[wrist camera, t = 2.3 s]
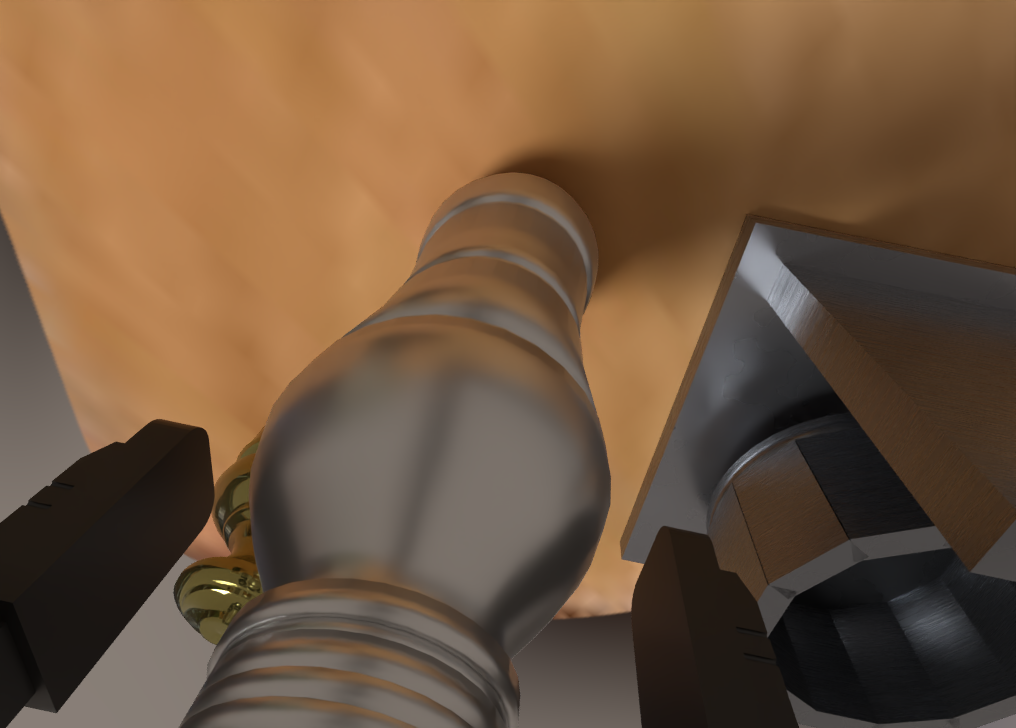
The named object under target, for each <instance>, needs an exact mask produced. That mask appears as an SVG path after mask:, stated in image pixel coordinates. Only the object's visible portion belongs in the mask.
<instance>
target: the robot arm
mask: <svg viewBox="0 0 1016 728" xmlns="http://www.w3.org/2000/svg"><path fill="white" fill-rule="evenodd" d="M214 498H215V491H214V482H213V473H212V464H211V455H210V446H209V438H208V434H207V432H206V430H204V429H203V428H200V427H196V426H191V425H186V424H181V423H176V422H172V421H167V420H162V419H156V420H153V421H151V422H150V423H148V424H147V425H146V426H145V427H143V428H142V429H141V430H140V431H139V432H137V433H136V434H135V435H134V436H133V437H132V438H130V439H129V440H128V441H127V442H126V443H120V442H114V443H112V444H110V445H108V446H106V447H104V448H102V449H99V450H97V451H95V452H93V453H91V454H89V455H87V456H84V457H82V458H80V459H79V460H78V461H76V462H75V463H74V464H73V465H72V466H70V467H69V468H68V469H67V470H65V471H64V472H63V473H62V474H60V475H59V476H58V477H57V478H55V479H54V480H53V481H52V484H51V486H46V487H44V488H43V489H42V490H40V491H39V492H38V493H37V494H36V495H34V496H33V497H32V498H31V499H30V500H29V502H28V504H27V505H26V506H24V505H22V506H21V507H19V508H18V509H17V510H16V511H14V512H13V513H12V514H11V515H10V516H8V517H7V518H6V519H5V520H3V521H2V522H1V523H0V728H6V727H7V726H8V724H9V723H10V722H11V721H12V720H13V719H14V718H15V716H16V715H17V714H18V713H19V712H20V710H21V709H22V708H23V707H24V706H26V707H30V708H35V709H39V710H44V711H49V712H53V713H57V712H58V711H59V710H60V708H61V707H62V706H63V704H64V703H65V702H66V701H67V699H68V698H69V697H70V696H71V694H72V693H73V692H74V691H75V689H76V688H77V687H78V685H79V684H80V683H81V682H82V680H83V679H84V678H85V677H86V675H87V674H88V673H89V672H90V671H91V669H92V668H93V667H94V665H95V664H96V663H97V662H98V660H99V659H100V658H101V657H102V655H103V654H104V653H105V652H106V650H107V649H108V648H109V647H110V645H111V644H112V643H113V642H114V640H115V639H116V638H117V636H118V635H119V634H120V633H121V631H122V630H123V629H124V628H125V626H126V625H127V624H128V622H129V621H130V620H131V619H132V618H133V616H134V615H135V614H136V612H137V611H138V610H139V609H140V608H141V606H142V605H143V604H144V602H145V601H146V600H147V599H148V597H149V596H150V595H151V594H152V592H153V591H154V590H155V589H156V587H157V586H158V585H159V584H160V582H161V581H162V580H163V578H164V577H165V576H166V575H167V573H168V572H169V571H170V570H171V568H172V567H173V566H174V565H175V563H176V562H177V561H178V560H179V558H180V557H181V556H182V555H183V553H184V552H185V551H186V550H187V548H188V547H189V546H190V544H191V543H192V542H193V541H194V539H195V538H196V537H197V536H198V534H199V533H200V532H201V531H202V529H203V528H204V526H205V525H206V523H207V521H208V519H209V517H210V514H211V512H212V509H213V505H214ZM631 620H632V632H633V642H634V652H635V663H636V672H637V681H638V682H637V683H638V693H639V704H640V714H641V724H642V728H799V726H798V723H797V720H796V717H795V714H794V711H793V708H792V705H791V702H790V699H789V696H788V693H787V690H786V687H785V684H784V681H783V678H782V675H781V672H780V669H779V666H776V657H775V654H774V651H773V648H772V645H771V642H770V639H767V630H766V627H765V624H764V621H763V618H762V615H761V612H760V609H759V606H758V603H757V601H756V599H755V598H754V597H753V595H752V594H751V593H750V591H749V590H748V588H747V587H746V586H745V584H744V583H743V582H742V580H741V579H740V577H739V576H738V575H737V573H735V572H730V571H725V570H720V568H719V565H718V561H717V557H716V554H715V550H714V547H713V543H712V541H711V539H710V537H709V536H708V535H706V534H702V533H697V532H693V531H688V530H683V529H678V528H673V527H669V526H662V527H661V528H660V530H659V531H658V533H657V535H656V538H655V540H654V542H653V545H652V547H651V550H650V552H649V554H648V557H647V559H646V561H645V564H644V566H643V568H642V571H641V573H640V575H639V578H638V580H637V583H636V585H635V589H634V593H633V599H632V608H631Z"/></svg>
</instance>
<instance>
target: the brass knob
mask: <svg viewBox="0 0 1016 728" xmlns="http://www.w3.org/2000/svg"><path fill="white" fill-rule="evenodd" d="M264 428H265V426H264V427H263V428H262V429H261V431H260V432H259V433H258V434H257V435H256V437H255V438H254V439H253V440H252V441H251V442H250V443H249V444H248V445H246V446H245V447H244V448H243V450H242V451H241V452H240V454H239V456H238V458H237V461H236V462H235V463H234V464H233V465H231V466H230V467H229V468H228V469H227V470H226V471H225V472H224V473H223V474H222V475H221V476H220V477H219V479H218V480H217V482H216V484H215V486H214V491H215V498H214V505H213V509H212V512H211V514H212V518H213V521H214V524H215V526H216V528H217V531H218V532H219V534H220V536H221V537H222V538H223V540H224V541H225V543H226V545H227V547H228V549H229V551H230V552H231V555H230V556H228V557H212V558H206V559H202V560H199V561H197V562H194V563H193V564H191V565H189V566H188V567H187V568H186V569H184V570H183V572H182V573H181V574H180V576H179V577H178V579H177V581H176V583H175V585H174V591H173V594H174V600H175V602H176V605H177V607H178V609H179V611H180V613H181V614H182V616H183V617H184V618H185V620H186V621H187V622H188V623H189V624H190V625H191V626H192V627H193V628H194V629H195V630H196V631H197V632H198V633H200V634H201V635H202V637H203V638H205V639H206V640H208V641H209V642H211V643H213V644H215V645H217V644H218V642H219V641H220V639H221V637H222V636H223V634H224V632H225V631H226V629H227V627H228V626H229V624H230V622H231V621H232V619H233V617H234V616H235V615H236V614H237V613H238V612H239V611H240V610H241V609H242V608H243V607H244V605H245V604H246V603H247V602H249V601H251V600H252V599H254V598H256V597H257V596H259V595H260V594H262V593H263V590H262V586H261V582H260V578H259V573H258V569H257V565H256V560H255V554H254V548H253V542H252V530H251V518H250V506H249V494H248V493H249V484H250V474H251V467H252V464H253V461H254V458H255V455H256V452H257V449H258V446H259V442H260V439H261V436H262V433H263V430H264Z"/></svg>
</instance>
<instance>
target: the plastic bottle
mask: <svg viewBox="0 0 1016 728" xmlns="http://www.w3.org/2000/svg"><path fill="white" fill-rule="evenodd" d="M597 272H598V246H597V241H596V237H595V233H594V230H593V228H592V226H591V224H590V222H589V219H588V217H587V216H586V214H585V213H584V212H583V210H582V209H581V208H580V206H579V205H578V204H577V202H576V201H575V200H574V199H573V198H572V197H571V196H570V195H569V194H568V193H567V192H566V191H564V190H563V189H562V188H561V187H560V186H558V185H556V184H554V183H553V182H551V181H549V180H547V179H545V178H542V177H539V176H535V175H532V174H527V173H516V172H511V173H502V174H495V175H491V176H487V177H484V178H481V179H478V180H475V181H472V182H471V183H469V184H467V185H465V186H464V187H462V188H460V189H458V190H457V191H456V192H454V193H453V194H452V195H451V196H450V197H449V198H448V199H446V200H445V201H444V202H443V203H442V205H441V206H440V207H439V209H438V210H437V211H436V213H435V214H434V215H433V217H432V219H431V221H430V223H429V225H428V227H427V229H426V231H425V234H424V237H423V239H422V242H421V245H420V249H419V253H418V257H417V261H416V265H415V267H414V269H413V271H412V273H411V275H410V277H409V279H408V280H407V281H406V282H405V284H404V285H403V286H402V287H400V288H399V290H398V291H397V292H396V293H395V294H394V295H393V296H392V297H391V298H390V299H389V300H388V301H387V303H386V304H385V305H384V306H383V307H381V308H380V309H379V310H377V311H376V312H375V313H373V314H372V315H371V316H369V317H368V318H367V319H365V320H364V321H363V322H361V323H360V324H359V325H357V326H356V327H355V328H354V329H352V330H351V331H350V332H348V333H347V334H346V335H344V336H343V337H342V338H341V339H339V340H337V341H336V342H335V343H333V344H332V345H331V346H330V347H328V348H327V349H326V350H325V351H324V352H322V353H321V354H320V355H319V356H318V357H316V358H315V359H314V360H313V361H312V362H311V363H310V364H309V365H308V366H307V367H306V368H305V369H304V370H303V371H302V372H301V373H300V374H299V375H298V376H297V377H295V378H294V379H293V380H292V381H291V382H290V383H289V385H288V386H287V387H286V389H285V390H284V392H283V393H282V394H281V396H280V397H279V398H278V400H277V401H276V402H275V404H274V405H273V407H272V410H271V412H270V415H269V417H268V420H267V423H266V425H265V428H264V430H263V433H262V436H261V439H260V442H259V446H258V449H257V452H256V455H255V458H254V461H253V464H252V467H251V474H250V484H249V493H248V494H249V506H250V518H251V530H252V542H253V548H254V554H255V560H256V565H257V569H258V573H259V578H260V582H261V586H262V590H263V593H262V594H260V595H259V596H257V597H256V598H254V599H252V600H251V601H249V602H247V603H246V604H245V605H244V607H243V608H242V609H241V610H240V611H239V612H238V613H237V614H236V615H235V616H234V617H233V619H232V621H231V622H230V624H229V626H228V627H227V629H226V631H225V632H224V634H223V636H222V637H221V639H220V641H219V642H218V644H217V646H216V648H215V649H214V652H213V654H212V656H211V658H210V660H209V663H208V667H207V680H206V682H205V684H204V685H203V687H202V689H201V690H200V692H199V694H198V695H197V697H196V699H195V701H194V702H193V704H192V706H191V707H190V709H189V711H188V713H187V714H186V716H185V718H184V719H183V721H182V723H181V724H180V726H179V728H518V721H519V707H520V687H519V679H518V675H517V673H516V671H515V669H514V666H513V664H512V662H511V659H512V658H513V657H514V656H515V655H516V654H517V653H519V652H520V651H521V650H522V649H523V648H524V647H525V646H526V645H527V644H528V643H529V642H530V641H531V640H533V639H534V637H536V635H537V634H538V633H539V632H540V631H541V630H542V629H543V628H544V627H545V626H546V625H547V624H548V623H549V622H550V621H551V619H552V618H553V617H554V616H555V615H556V613H557V612H558V611H559V610H560V608H561V607H562V606H563V605H564V604H565V602H566V601H567V600H568V599H569V597H570V596H571V595H572V594H573V593H574V591H575V590H576V589H577V588H578V586H579V584H580V583H581V581H582V579H583V578H584V576H585V574H586V572H587V571H588V569H589V567H590V566H591V563H592V560H593V557H594V554H595V551H596V549H597V546H598V543H599V540H600V537H601V534H602V532H603V529H604V525H605V521H606V518H607V514H608V511H609V507H610V491H611V475H610V470H609V465H608V459H607V451H606V445H605V441H604V437H603V433H602V429H601V425H600V421H599V418H598V416H597V412H596V408H595V405H594V401H593V398H592V395H591V391H590V388H589V384H588V381H587V378H586V374H585V371H584V367H583V357H582V347H581V340H580V327H581V322H582V316H583V314H584V312H585V310H586V308H587V306H588V303H589V301H590V299H591V296H592V293H593V289H594V286H595V282H596V277H597Z"/></svg>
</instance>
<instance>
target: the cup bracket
mask: <svg viewBox="0 0 1016 728" xmlns="http://www.w3.org/2000/svg"><path fill="white" fill-rule="evenodd" d="M662 526H669V527H673V528H678V529H683V530H688V531H693V532H697V533H702V534H706V535H708V536H709V537H710V539H711V541H712V543H713V547H714V550H715V554H716V557H717V561H718V565H719V568H720V570H725V571H730V572H735V573H737V575H738V576H739V577H740V579H741V580H742V582H743V583H744V584H745V586H746V587H747V588H748V590H749V591H750V593H751V594H752V595H753V597H754V598H755V599H756V601H757V603H758V606H759V609H760V612H761V615H762V618H763V621H764V624H765V627H766V630H767V639H770V642H771V645H772V648H773V651H774V654H775V657H776V666H779V669H780V672H781V675H782V678H783V681H784V684H785V687H786V690H787V693H788V696H789V699H790V702H791V705H792V708H793V711H794V714H795V717H796V720H797V723H799V724H802V725H807V726H812V727H816V728H977V727H980V726H982V725H985V724H988V723H991V722H994V721H997V720H1000V719H1003V718H1005V717H1008V716H1011V715H1014V714H1016V268H1012V267H1007V266H1002V265H997V264H992V263H987V262H982V261H977V260H972V259H967V258H962V257H957V256H952V255H947V254H942V253H937V252H932V251H927V250H922V249H918V248H913V247H908V246H903V245H898V244H893V243H888V242H883V241H878V240H873V239H868V238H863V237H858V236H853V235H848V234H843V233H838V232H833V231H828V230H823V229H818V228H813V227H808V226H803V225H798V224H793V223H788V222H783V221H778V220H773V219H768V218H764V217H759V216H754V215H749V214H747V216H746V219H745V221H744V224H743V226H742V229H741V232H740V234H739V237H738V239H737V242H736V245H735V247H734V250H733V252H732V255H731V257H730V260H729V263H728V265H727V268H726V270H725V273H724V275H723V278H722V281H721V283H720V286H719V288H718V291H717V293H716V296H715V299H714V301H713V304H712V306H711V309H710V311H709V314H708V317H707V319H706V322H705V324H704V327H703V329H702V332H701V335H700V337H699V340H698V342H697V345H696V348H695V350H694V353H693V355H692V358H691V360H690V363H689V366H688V368H687V371H686V373H685V376H684V378H683V381H682V384H681V386H680V389H679V391H678V394H677V396H676V399H675V402H674V404H673V407H672V409H671V412H670V414H669V417H668V420H667V422H666V425H665V427H664V430H663V433H662V435H661V438H660V440H659V443H658V445H657V448H656V451H655V453H654V456H653V458H652V461H651V463H650V466H649V469H648V471H647V474H646V476H645V479H644V481H643V484H642V487H641V489H640V492H639V494H638V497H637V499H636V502H635V505H634V507H633V510H632V512H631V515H630V517H629V520H628V523H627V525H626V528H625V530H624V533H623V536H622V538H621V541H620V546H621V558H622V559H623V560H628V561H633V562H637V563H642V564H645V561H646V559H647V557H648V554H649V552H650V550H651V547H652V545H653V542H654V540H655V538H656V535H657V533H658V531H659V530H660V528H661V527H662Z"/></svg>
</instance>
